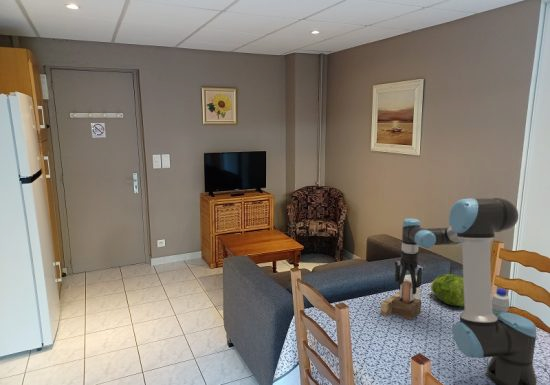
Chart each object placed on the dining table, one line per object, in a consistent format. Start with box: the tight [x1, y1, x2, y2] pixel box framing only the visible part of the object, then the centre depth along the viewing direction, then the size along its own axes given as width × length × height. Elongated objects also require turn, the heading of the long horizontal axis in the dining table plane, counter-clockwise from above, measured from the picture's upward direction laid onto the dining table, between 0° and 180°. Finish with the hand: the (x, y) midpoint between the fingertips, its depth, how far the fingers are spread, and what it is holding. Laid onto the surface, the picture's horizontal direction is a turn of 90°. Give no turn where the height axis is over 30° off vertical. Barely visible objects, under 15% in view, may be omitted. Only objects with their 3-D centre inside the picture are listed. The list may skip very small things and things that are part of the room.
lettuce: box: [430, 273, 464, 307], centre depth 201 cm, size 16×21×15 cm
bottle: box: [492, 288, 510, 319], centre depth 170 cm, size 7×7×20 cm
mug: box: [403, 274, 421, 300], centre depth 205 cm, size 12×8×12 cm
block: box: [391, 296, 422, 321], centre depth 189 cm, size 10×10×6 cm
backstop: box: [380, 291, 400, 317], centre depth 193 cm, size 20×3×6 cm, turn 136°
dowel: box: [403, 281, 412, 304], centre depth 188 cm, size 4×4×14 cm
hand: (406, 298), depth 188 cm, fingers open, 4 cm apart
